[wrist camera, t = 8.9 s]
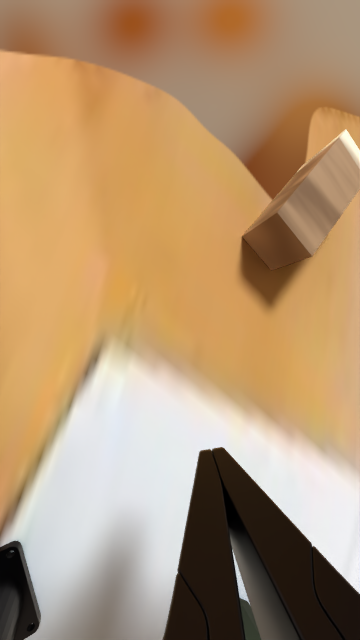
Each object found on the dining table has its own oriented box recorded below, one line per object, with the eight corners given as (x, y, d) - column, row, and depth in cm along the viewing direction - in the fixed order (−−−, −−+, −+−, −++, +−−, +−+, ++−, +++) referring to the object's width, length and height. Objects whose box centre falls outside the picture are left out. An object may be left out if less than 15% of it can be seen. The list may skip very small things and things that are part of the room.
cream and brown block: (312, 256, 19) (372, 171, 22) (277, 212, 18) (346, 129, 21) (271, 270, 24) (325, 198, 27) (241, 236, 23) (302, 165, 26)
